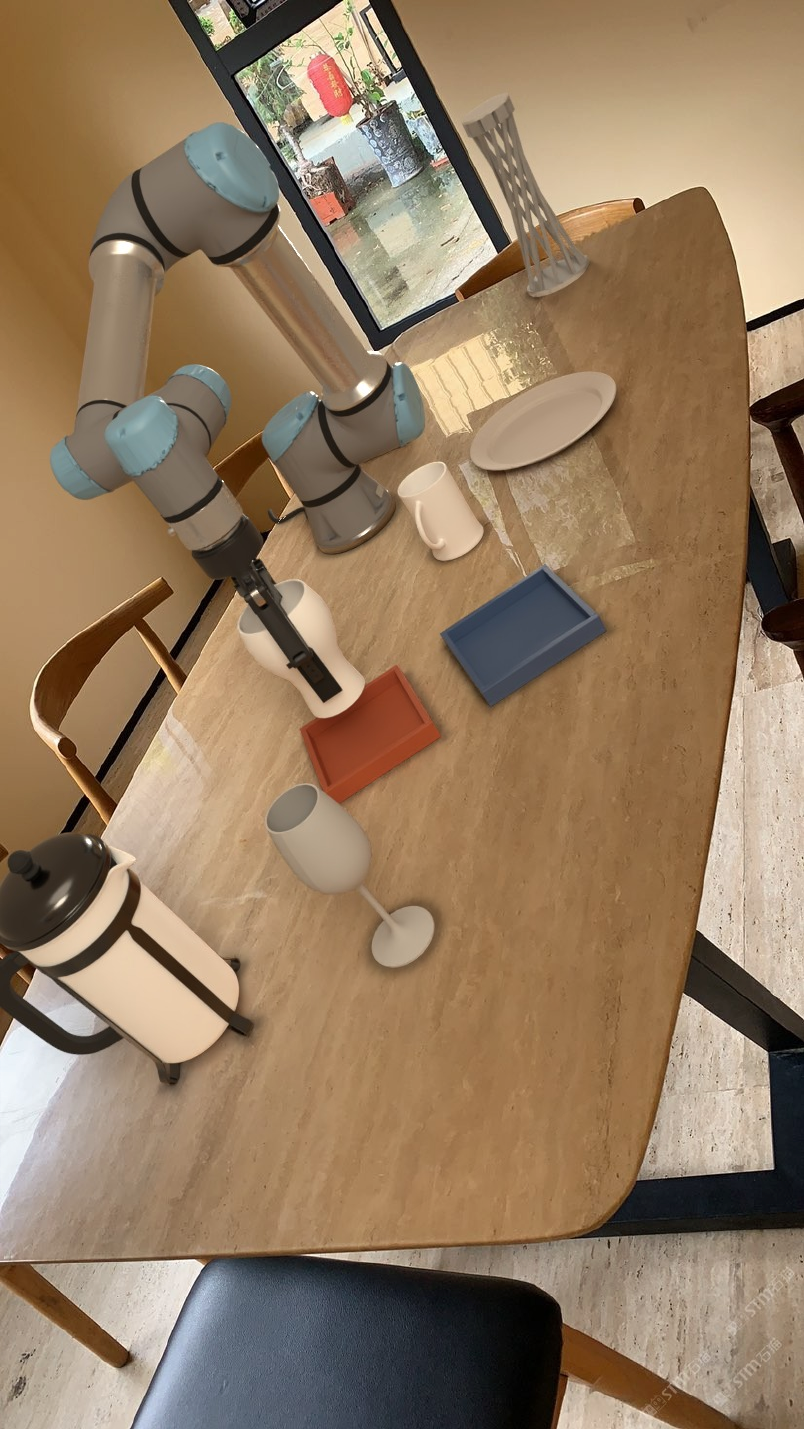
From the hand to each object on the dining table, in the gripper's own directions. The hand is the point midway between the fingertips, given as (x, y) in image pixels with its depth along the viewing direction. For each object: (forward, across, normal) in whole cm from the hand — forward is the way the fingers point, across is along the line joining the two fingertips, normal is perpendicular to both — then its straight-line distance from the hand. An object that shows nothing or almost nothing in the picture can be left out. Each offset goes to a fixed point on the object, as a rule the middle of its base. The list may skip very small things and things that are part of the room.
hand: (322, 673), depth 126 cm
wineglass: (+12, +33, -6) cm, 36 cm away
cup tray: (+12, 0, 0) cm, 12 cm away
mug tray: (+12, 0, +23) cm, 26 cm away
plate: (+12, -47, +48) cm, 68 cm away
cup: (+4, 0, 0) cm, 4 cm away
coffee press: (+12, +28, -31) cm, 43 cm away
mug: (+12, -30, +24) cm, 40 cm away
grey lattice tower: (+12, -103, +77) cm, 129 cm away
